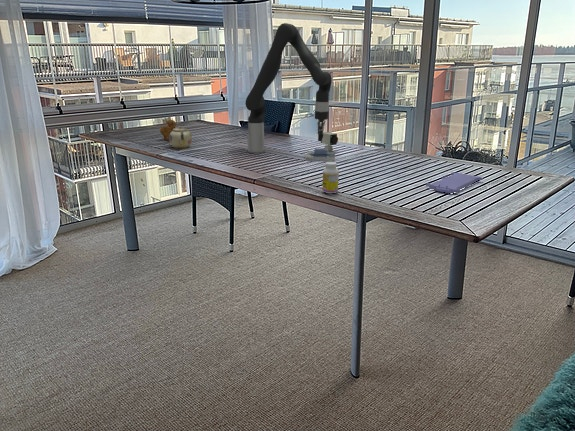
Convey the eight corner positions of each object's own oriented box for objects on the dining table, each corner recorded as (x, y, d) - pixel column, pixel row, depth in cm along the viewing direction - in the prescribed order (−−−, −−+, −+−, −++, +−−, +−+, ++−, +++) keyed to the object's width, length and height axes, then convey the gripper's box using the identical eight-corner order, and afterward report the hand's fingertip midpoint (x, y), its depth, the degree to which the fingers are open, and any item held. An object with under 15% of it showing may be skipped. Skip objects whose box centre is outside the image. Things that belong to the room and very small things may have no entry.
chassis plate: (305, 160, 256) (305, 156, 255) (307, 154, 270) (307, 151, 269) (334, 161, 254) (334, 157, 253) (335, 155, 268) (335, 152, 267)
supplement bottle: (321, 190, 202) (322, 161, 197) (336, 190, 202) (337, 161, 198) (323, 194, 195) (324, 164, 191) (339, 194, 196) (340, 164, 192)
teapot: (164, 147, 291) (161, 125, 286) (182, 143, 300) (181, 123, 295) (181, 151, 277) (179, 129, 273) (200, 148, 286) (198, 126, 282)
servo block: (310, 158, 261) (310, 149, 259) (311, 156, 265) (311, 148, 263) (330, 159, 259) (330, 150, 258) (330, 157, 263) (330, 148, 262)
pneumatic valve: (332, 153, 273) (332, 133, 269) (319, 150, 282) (319, 130, 278) (339, 152, 276) (339, 132, 272) (326, 149, 285) (326, 129, 281)
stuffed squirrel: (184, 139, 315) (182, 119, 311) (169, 142, 304) (167, 122, 300) (173, 137, 320) (171, 118, 316) (158, 141, 309) (156, 121, 304)
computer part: (422, 190, 203) (455, 197, 194) (423, 181, 202) (457, 187, 193) (451, 177, 224) (483, 183, 215) (452, 168, 223) (484, 174, 214)
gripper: (315, 108, 260) (314, 137, 266) (313, 111, 247) (312, 141, 252) (329, 108, 259) (327, 137, 265) (328, 112, 246) (326, 142, 251)
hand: (320, 139), depth 258 cm, fingers open, 8 cm apart
